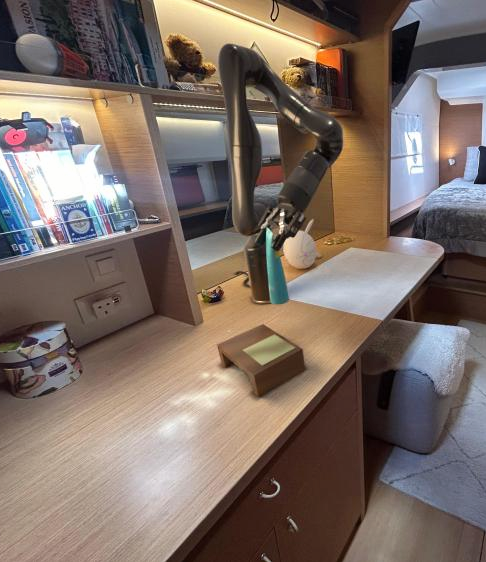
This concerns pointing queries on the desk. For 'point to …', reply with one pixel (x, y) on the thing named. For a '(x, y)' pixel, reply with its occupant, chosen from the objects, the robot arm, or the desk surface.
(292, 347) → the brown wooden table
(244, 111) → the robot arm
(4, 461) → the desk surface
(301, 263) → the stuffed toy
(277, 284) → the tube
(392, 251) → the desk surface
